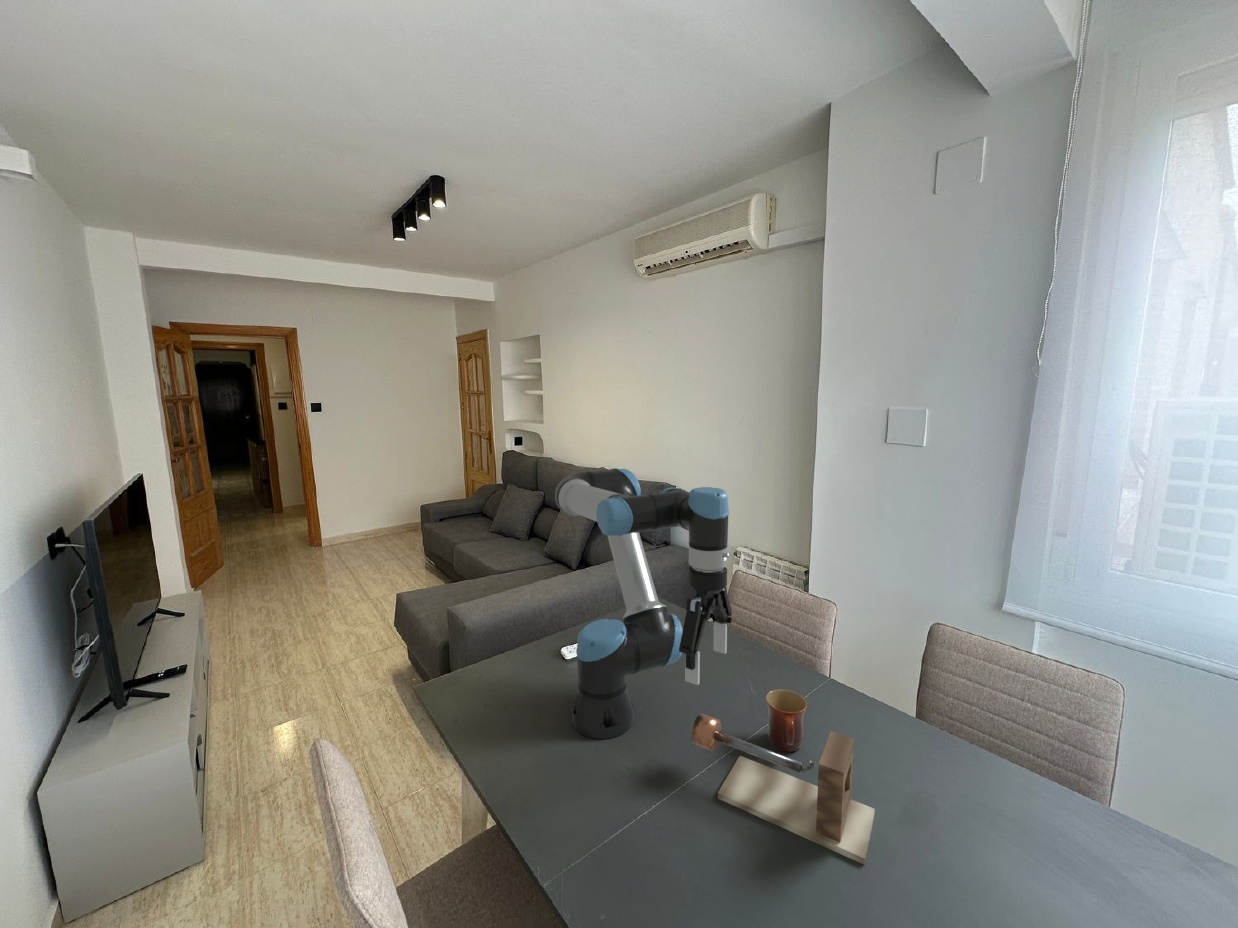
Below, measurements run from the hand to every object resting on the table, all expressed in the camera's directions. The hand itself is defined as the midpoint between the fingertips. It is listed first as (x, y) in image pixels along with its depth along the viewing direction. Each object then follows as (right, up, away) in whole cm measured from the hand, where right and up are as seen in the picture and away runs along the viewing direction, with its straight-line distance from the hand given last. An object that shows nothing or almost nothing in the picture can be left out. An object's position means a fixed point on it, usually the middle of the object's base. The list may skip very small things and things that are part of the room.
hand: (706, 666), depth 103 cm
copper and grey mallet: (+8, -18, -3) cm, 20 cm away
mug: (+19, -22, +9) cm, 30 cm away
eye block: (+21, -23, -11) cm, 33 cm away
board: (+15, -24, -7) cm, 29 cm away
